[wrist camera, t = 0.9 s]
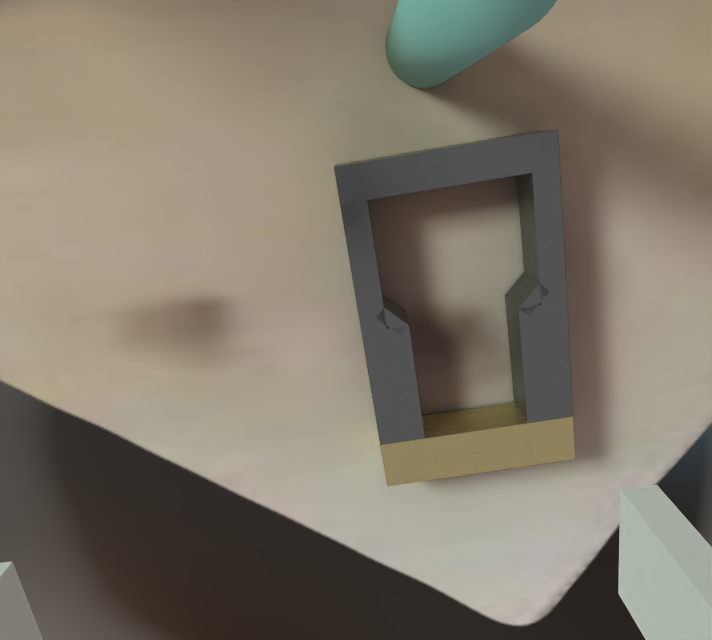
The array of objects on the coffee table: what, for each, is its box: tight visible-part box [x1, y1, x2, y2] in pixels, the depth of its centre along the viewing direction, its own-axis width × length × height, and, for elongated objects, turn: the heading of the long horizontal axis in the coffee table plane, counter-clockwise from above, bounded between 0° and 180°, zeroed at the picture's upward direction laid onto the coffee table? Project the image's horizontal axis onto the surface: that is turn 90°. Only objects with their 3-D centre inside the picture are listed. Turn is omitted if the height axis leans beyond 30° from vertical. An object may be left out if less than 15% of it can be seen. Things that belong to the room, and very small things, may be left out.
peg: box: [386, 0, 557, 88], centre depth 24 cm, size 4×4×16 cm
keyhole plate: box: [334, 130, 575, 486], centre depth 35 cm, size 20×12×3 cm, turn 9°
